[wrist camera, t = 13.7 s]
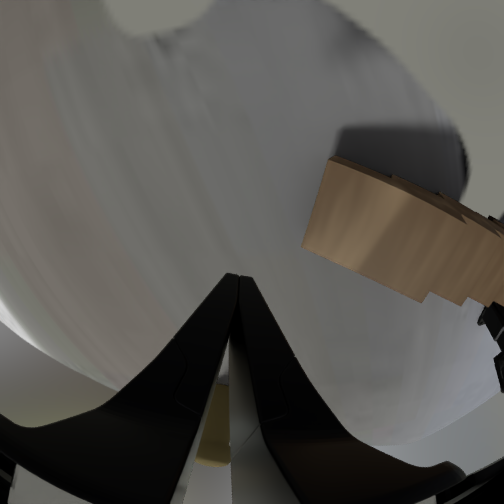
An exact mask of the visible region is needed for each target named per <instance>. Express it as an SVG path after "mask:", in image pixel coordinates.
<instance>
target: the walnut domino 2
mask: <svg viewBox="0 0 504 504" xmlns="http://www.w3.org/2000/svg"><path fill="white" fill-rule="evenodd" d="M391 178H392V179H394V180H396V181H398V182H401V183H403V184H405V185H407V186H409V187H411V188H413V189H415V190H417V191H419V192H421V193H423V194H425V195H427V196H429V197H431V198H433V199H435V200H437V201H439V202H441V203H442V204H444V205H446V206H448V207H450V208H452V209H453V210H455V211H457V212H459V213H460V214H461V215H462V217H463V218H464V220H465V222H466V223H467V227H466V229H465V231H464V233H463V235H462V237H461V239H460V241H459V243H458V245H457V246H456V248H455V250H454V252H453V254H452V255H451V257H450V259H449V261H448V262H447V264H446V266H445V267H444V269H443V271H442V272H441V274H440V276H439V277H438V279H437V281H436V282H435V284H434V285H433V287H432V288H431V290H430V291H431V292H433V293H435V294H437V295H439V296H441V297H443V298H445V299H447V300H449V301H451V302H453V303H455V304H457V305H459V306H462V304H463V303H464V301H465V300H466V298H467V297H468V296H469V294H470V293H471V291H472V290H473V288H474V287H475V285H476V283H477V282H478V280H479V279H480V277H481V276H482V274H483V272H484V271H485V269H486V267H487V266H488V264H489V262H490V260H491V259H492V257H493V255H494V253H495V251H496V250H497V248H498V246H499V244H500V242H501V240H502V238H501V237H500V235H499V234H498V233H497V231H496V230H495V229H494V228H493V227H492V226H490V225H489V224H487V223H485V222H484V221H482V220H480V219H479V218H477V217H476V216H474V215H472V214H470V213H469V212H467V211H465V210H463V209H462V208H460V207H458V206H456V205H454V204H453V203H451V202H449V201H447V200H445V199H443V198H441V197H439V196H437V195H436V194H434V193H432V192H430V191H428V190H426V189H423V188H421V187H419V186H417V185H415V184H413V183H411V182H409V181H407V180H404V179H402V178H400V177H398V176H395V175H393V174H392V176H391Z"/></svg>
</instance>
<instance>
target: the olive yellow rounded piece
mask: <svg viewBox="0 0 504 504" xmlns="http://www.w3.org/2000/svg"><path fill="white" fill-rule="evenodd" d="M229 442H230V417H229V386H226V385H221V384H216V386H215V390H214V393H213V397H212V400H211V404H210V408H209V411H208V415H207V418H206V422H205V425H204V429H203V433H202V436H201V440H200V443H199V447H198V450H197V454H196V458H195V462H197V463H199V464H202V465H205V466H212V467H222V466H226V465H228V464H229V463H230V462H231V455H230V446H229Z"/></svg>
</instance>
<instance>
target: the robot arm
mask: <svg viewBox="0 0 504 504" xmlns="http://www.w3.org/2000/svg"><path fill="white" fill-rule="evenodd" d="M477 324H478V325H479V326H480V325H483V324H486V326H487V328H488V330H489V331H490V333H491V335H492V337H493V339H494V341H497V343H498V345H499V347H500V349H501V352H500V353H499V354H498V355H496V356H495V357H494V358H493V359H494V363H495V364H494V365H495V368H496V372H497V375H498V379H499V383H500V388H501V392H502V393H504V306H502V305H500V304H498V303H496V302H495V301H493V302H492V303H491V305H490V306H489V307H487V306H485V308H484V310H483V312H482V314H481V316H480V318H479V320H478V322H477ZM228 339H229V417H230V455H231V483H232V504H504V457H502V458H500V459H498V460H497V461H495V462H493V463H491V464H489V465H487V466H485V467H484V468H482V469H480V470H477V471H475V472H474V473H471V474H469V475H467V476H466V474H465V473H464V471H463V470H462V469H461V468H459V467H458V466H456V465H455V464H453V463H451V462H449V461H445V462H442V463H439V464H437V465H434V466H432V467H418V466H414V465H411V464H408V463H406V462H403V461H401V460H399V459H397V458H394V457H392V456H390V455H388V454H385V453H384V452H381V451H379V450H377V449H375V448H373V447H371V446H369V445H367V444H365V443H363V442H361V441H360V440H358V439H356V438H355V437H354V436H352V435H351V434H350V433H349V432H348V431H347V430H346V429H345V428H344V427H343V425H342V424H341V423H340V421H339V420H338V419H337V417H336V416H335V415H334V413H333V412H332V411H331V409H330V408H329V407H328V405H327V404H326V403H325V401H324V400H323V399H322V397H321V396H320V395H319V393H318V392H317V390H316V389H315V388H314V386H313V385H312V383H311V382H310V380H309V379H308V377H307V375H306V374H305V372H304V370H303V369H302V367H301V365H300V363H299V362H298V360H297V358H296V357H295V354H294V353H293V351H292V349H291V347H290V345H289V344H288V342H287V340H286V338H285V336H284V334H283V333H282V331H281V329H280V327H279V325H278V323H277V322H276V320H275V318H274V316H273V314H272V312H271V311H270V309H269V307H268V305H267V303H266V301H265V300H264V298H263V296H262V294H261V292H260V290H259V289H258V287H257V285H256V283H255V281H254V279H253V278H252V277H249V276H243V275H241V276H240V277H239V275H237V274H232V273H226V274H225V275H224V276H223V278H222V279H221V280H220V281H219V282H218V284H217V285H216V286H215V287H214V288H213V290H212V291H211V292H210V293H209V294H208V296H207V297H206V298H205V299H204V300H203V302H202V303H201V304H200V305H199V307H198V308H197V309H196V310H195V311H194V313H193V314H192V315H191V316H190V317H189V319H188V320H187V321H186V322H185V323H184V325H183V326H182V327H181V328H180V329H179V331H178V332H177V333H176V334H175V336H174V337H173V338H172V339H171V340H170V341H169V343H168V344H167V345H166V346H165V347H164V349H163V350H162V351H161V352H160V353H159V354H158V355H157V356H156V358H155V359H154V360H153V361H152V362H151V363H150V364H148V365H147V366H146V367H145V368H144V369H143V370H142V371H141V372H140V373H139V374H138V375H137V376H136V377H135V378H133V379H132V380H131V381H130V382H129V383H128V384H127V385H126V386H125V387H123V388H122V389H121V390H120V391H119V392H118V393H117V394H116V395H115V396H113V397H112V398H111V399H110V400H108V401H107V402H106V403H104V404H103V405H101V406H99V407H97V408H95V409H93V410H91V411H87V412H85V413H82V414H79V415H76V416H73V417H70V418H67V419H64V420H60V421H57V422H54V423H51V424H48V425H44V426H40V427H23V426H19V425H17V424H15V423H13V422H12V421H11V420H9V419H8V418H6V417H5V416H3V415H2V414H0V504H182V503H183V500H184V497H185V493H186V489H187V486H188V482H189V478H190V475H191V472H192V468H193V464H194V461H195V458H196V454H197V450H198V447H199V443H200V440H201V436H202V433H203V429H204V425H205V422H206V418H207V415H208V411H209V408H210V404H211V400H212V397H213V393H214V390H215V386H216V383H217V379H218V375H219V372H220V368H221V365H222V361H223V358H224V354H225V350H226V347H227V343H228Z"/></svg>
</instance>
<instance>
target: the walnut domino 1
mask: <svg viewBox="0 0 504 504" xmlns="http://www.w3.org/2000/svg"><path fill="white" fill-rule="evenodd" d="M466 227H467V223H466V222H465V220H464V218H463V217H462V215H461V214H460V213H459V212H457V211H455V210H453V209H452V208H450V207H448V206H446V205H444V204H442V203H441V202H439V201H437V200H435V199H433V198H431V197H429V196H427V195H425V194H423V193H421V192H419V191H417V190H415V189H413V188H411V187H409V186H407V185H405V184H403V183H401V182H398V181H396V180H394V179H392V178H390V177H387V176H385V175H383V174H381V173H378V172H376V171H374V170H371V169H369V168H366V167H364V166H361V165H359V164H356V163H354V162H351V161H349V160H346V159H344V158H341V157H338V156H336V155H335V156H333V157H331V158H330V159H328V162H327V165H326V168H325V172H324V175H323V179H322V182H321V185H320V189H319V192H318V195H317V198H316V201H315V205H314V208H313V211H312V214H311V217H310V220H309V224H308V227H307V230H306V233H305V236H304V239H303V242H302V245H301V247H302V248H304V249H306V250H309V251H311V252H313V253H315V254H317V255H320V256H322V257H324V258H326V259H328V260H331V261H333V262H335V263H337V264H339V265H342V266H344V267H346V268H348V269H350V270H352V271H354V272H357V273H359V274H361V275H363V276H365V277H367V278H369V279H372V280H374V281H376V282H378V283H380V284H382V285H384V286H386V287H388V288H391V289H393V290H395V291H397V292H399V293H401V294H403V295H405V296H407V297H409V298H411V299H413V300H415V301H417V302H420V303H422V302H423V300H424V299H425V297H426V296H427V294H428V293H429V291H430V290H431V288H432V287H433V285H434V284H435V282H436V281H437V279H438V277H439V276H440V274H441V272H442V271H443V269H444V267H445V266H446V264H447V262H448V261H449V259H450V257H451V255H452V254H453V252H454V250H455V248H456V246H457V245H458V243H459V241H460V239H461V237H462V235H463V233H464V231H465V229H466Z"/></svg>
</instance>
